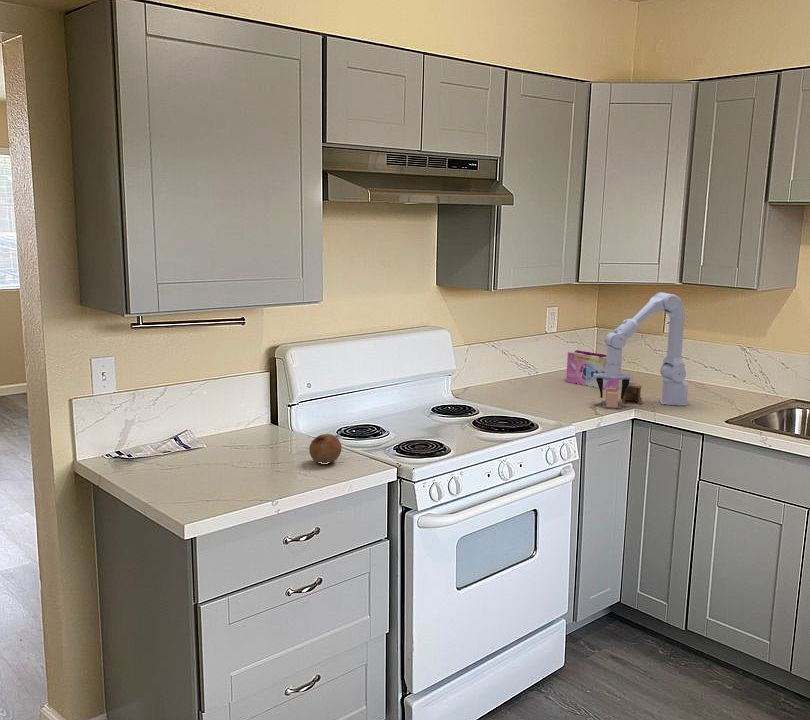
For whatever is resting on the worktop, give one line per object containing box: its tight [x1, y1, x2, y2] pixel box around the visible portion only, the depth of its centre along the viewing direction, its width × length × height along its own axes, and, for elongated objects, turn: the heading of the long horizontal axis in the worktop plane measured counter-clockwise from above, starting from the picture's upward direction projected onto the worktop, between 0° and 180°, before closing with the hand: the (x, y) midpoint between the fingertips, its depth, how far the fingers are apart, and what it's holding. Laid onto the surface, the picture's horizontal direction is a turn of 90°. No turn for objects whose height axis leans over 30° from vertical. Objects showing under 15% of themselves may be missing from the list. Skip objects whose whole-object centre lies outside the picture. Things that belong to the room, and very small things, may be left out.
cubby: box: [620, 382, 642, 405], centre depth 321 cm, size 7×8×7 cm
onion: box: [309, 433, 342, 463], centre depth 238 cm, size 10×9×10 cm
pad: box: [601, 399, 623, 410], centre depth 315 cm, size 7×11×1 cm, turn 169°
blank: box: [604, 388, 619, 408], centre depth 314 cm, size 4×10×6 cm, turn 169°
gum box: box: [565, 349, 620, 390], centre depth 353 cm, size 24×8×14 cm, turn 42°
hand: (611, 397), depth 315 cm, fingers open, 7 cm apart
